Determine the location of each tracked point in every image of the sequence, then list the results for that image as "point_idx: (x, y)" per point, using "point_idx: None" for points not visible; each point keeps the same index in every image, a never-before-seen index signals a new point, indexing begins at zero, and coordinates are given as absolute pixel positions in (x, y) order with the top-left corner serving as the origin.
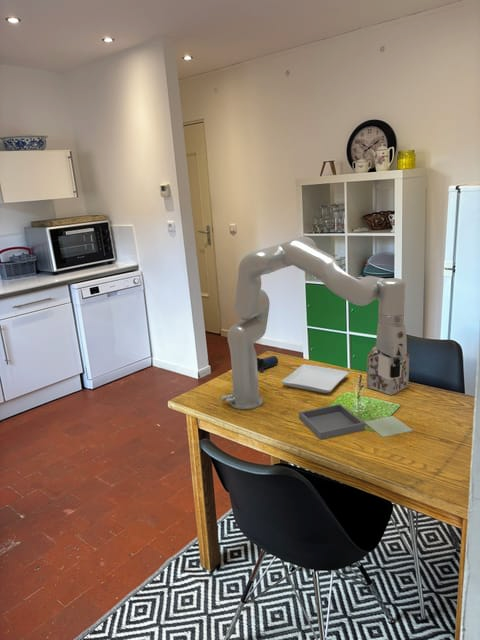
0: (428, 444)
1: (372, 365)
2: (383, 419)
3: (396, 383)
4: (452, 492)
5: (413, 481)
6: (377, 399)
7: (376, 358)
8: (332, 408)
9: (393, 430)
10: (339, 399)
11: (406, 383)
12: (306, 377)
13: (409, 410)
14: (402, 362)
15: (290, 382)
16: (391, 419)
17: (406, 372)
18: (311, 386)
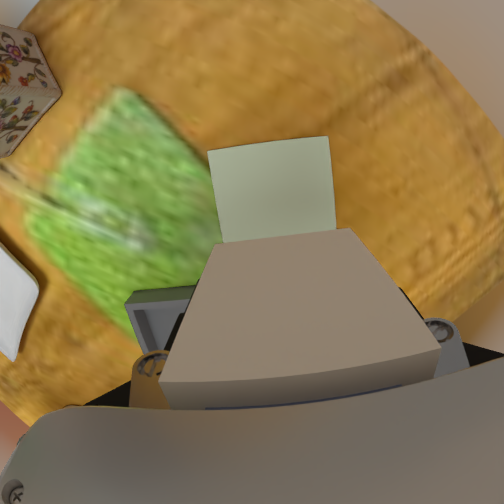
0: (404, 137)
1: None
2: (226, 194)
3: (31, 73)
4: None
5: (493, 266)
6: (73, 147)
7: None
8: (142, 327)
9: (311, 199)
10: (63, 261)
11: (26, 37)
12: None
13: (171, 70)
14: (502, 356)
15: (2, 334)
16: (234, 167)
17: (3, 32)
18: (9, 300)
